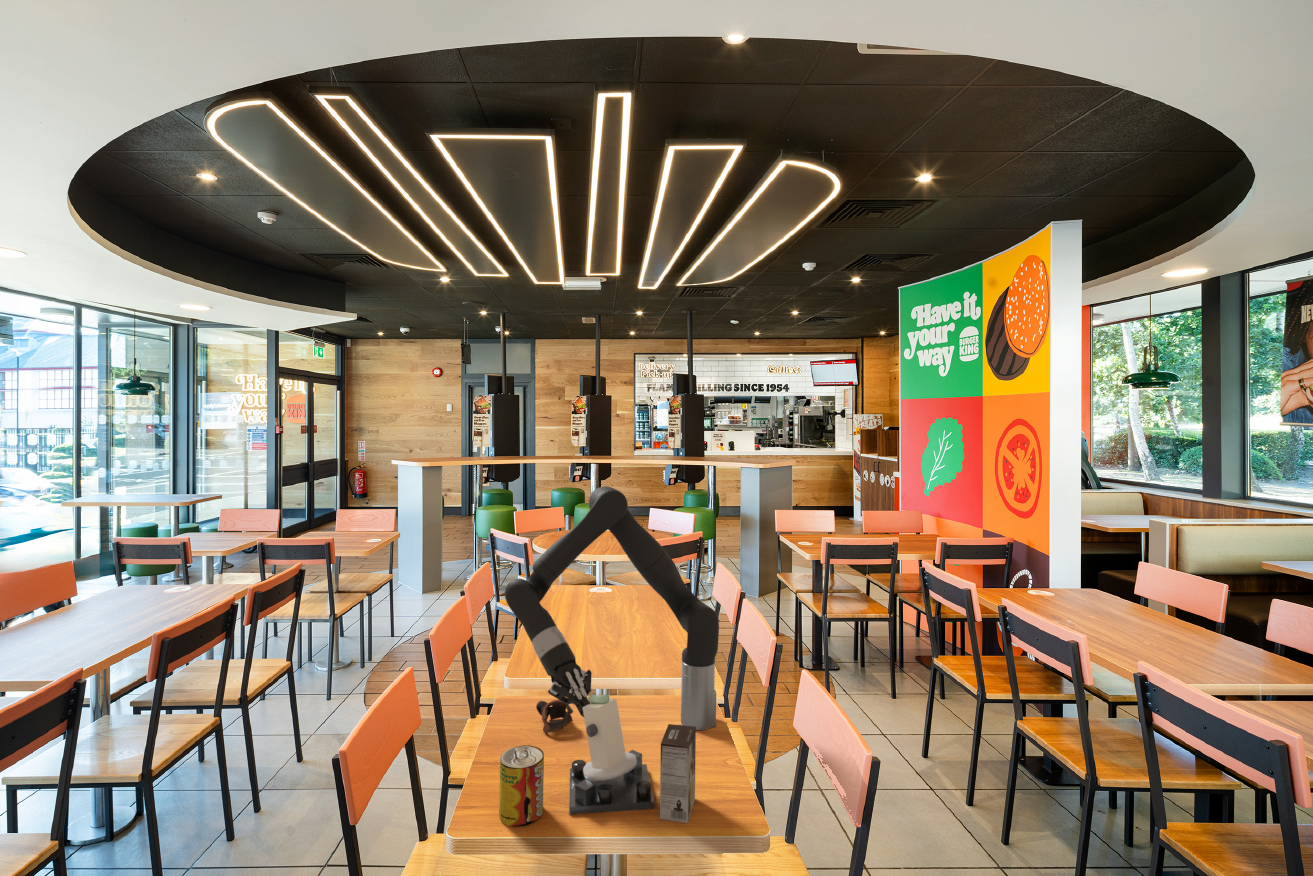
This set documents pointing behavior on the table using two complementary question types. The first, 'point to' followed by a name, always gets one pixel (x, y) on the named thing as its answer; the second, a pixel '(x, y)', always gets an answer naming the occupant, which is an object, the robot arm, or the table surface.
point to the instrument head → (605, 740)
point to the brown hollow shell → (554, 715)
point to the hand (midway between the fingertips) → (589, 715)
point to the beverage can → (521, 786)
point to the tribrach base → (618, 792)
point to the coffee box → (677, 773)
